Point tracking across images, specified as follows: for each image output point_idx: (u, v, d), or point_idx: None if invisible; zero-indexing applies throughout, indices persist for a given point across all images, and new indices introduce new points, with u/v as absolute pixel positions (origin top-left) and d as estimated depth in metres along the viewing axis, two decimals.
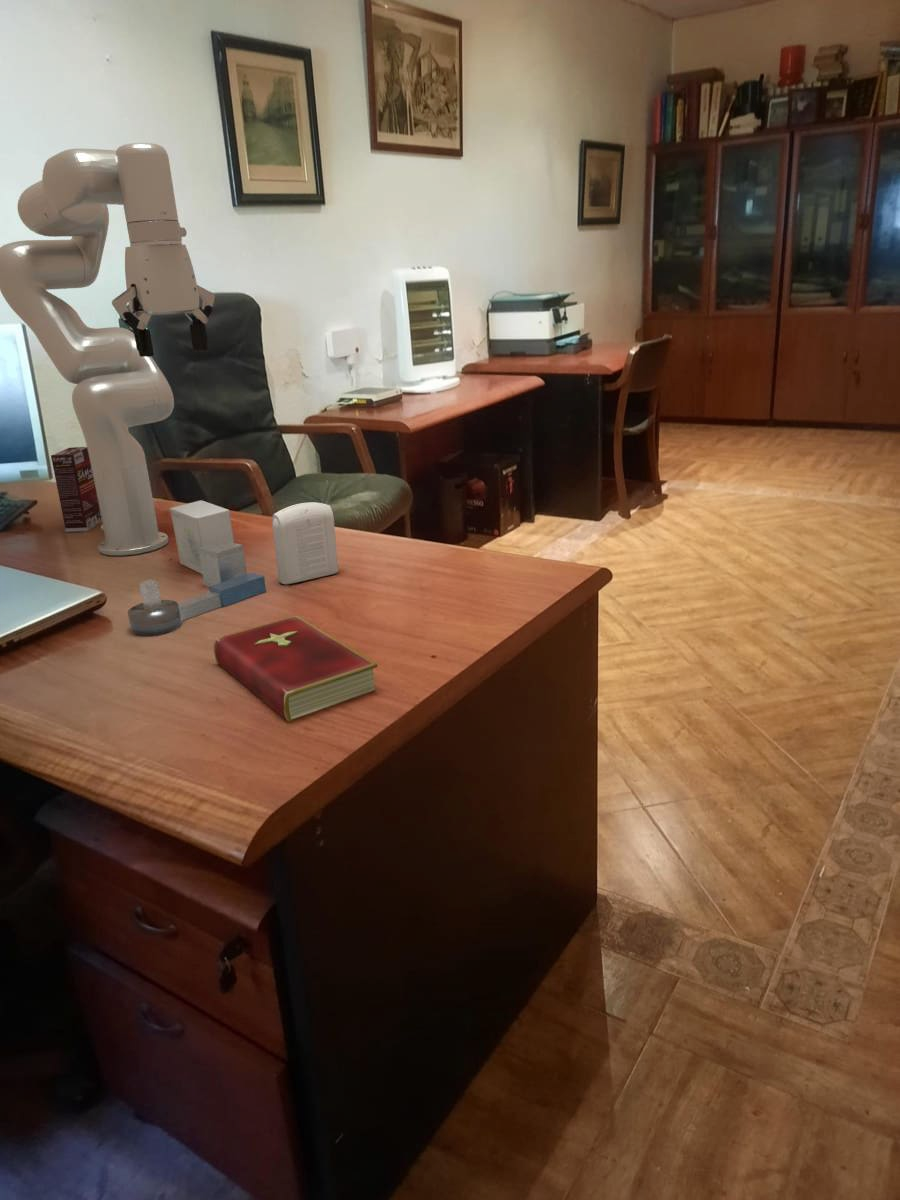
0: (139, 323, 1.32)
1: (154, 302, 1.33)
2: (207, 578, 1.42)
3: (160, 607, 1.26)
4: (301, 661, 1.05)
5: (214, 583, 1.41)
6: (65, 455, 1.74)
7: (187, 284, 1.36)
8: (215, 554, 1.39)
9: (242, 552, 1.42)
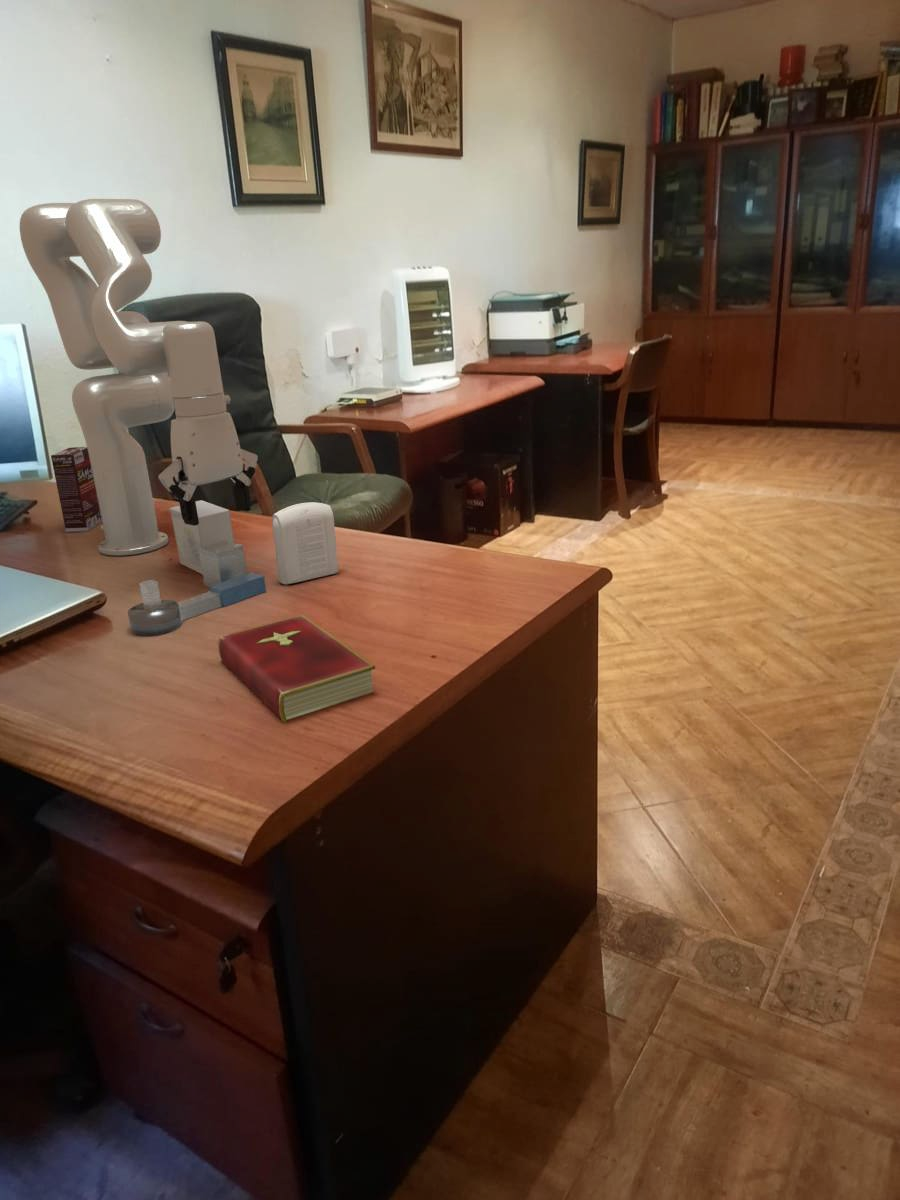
0: (185, 495, 1.33)
1: (200, 473, 1.33)
2: (207, 578, 1.42)
3: (160, 607, 1.26)
4: (301, 661, 1.05)
5: (214, 583, 1.41)
6: (65, 455, 1.74)
7: (231, 451, 1.36)
8: (215, 554, 1.39)
9: (242, 552, 1.42)
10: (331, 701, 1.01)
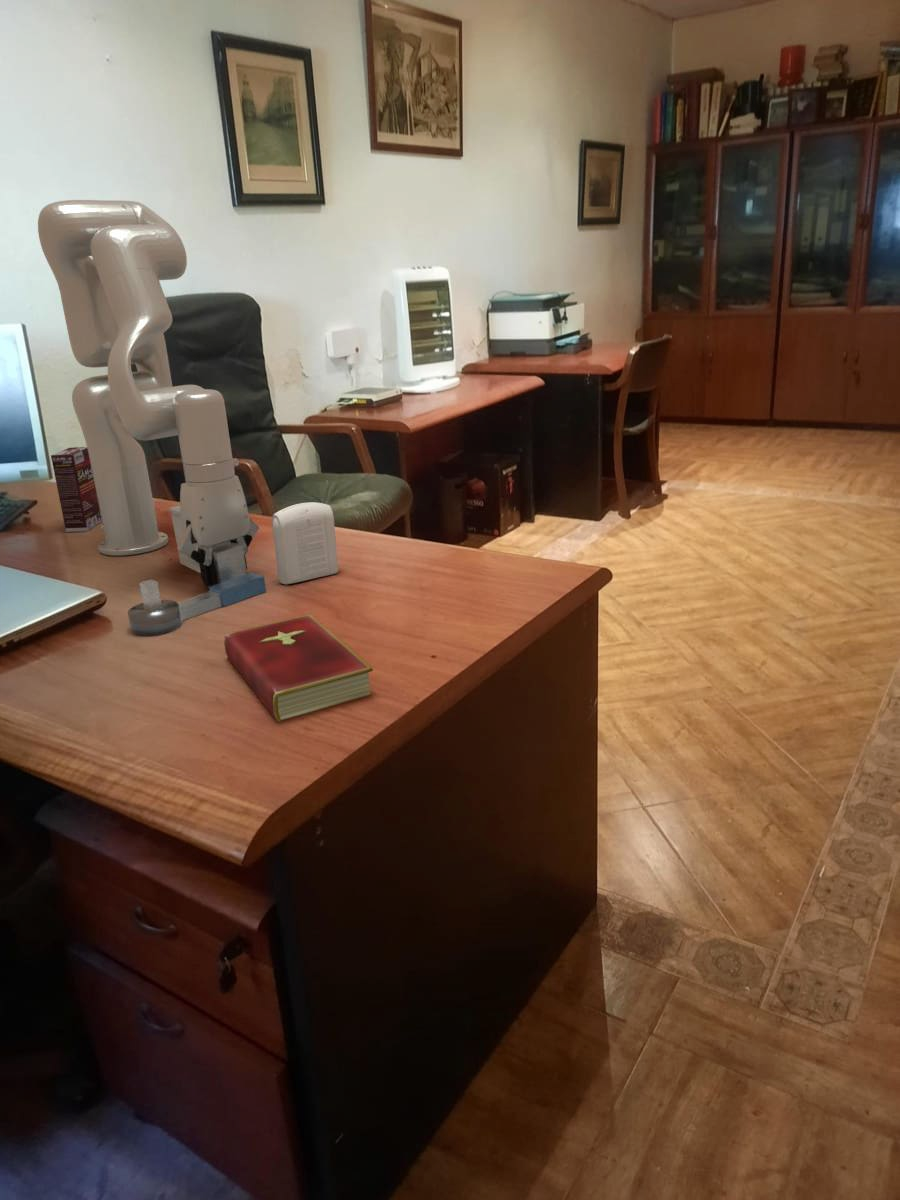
0: (205, 561, 1.38)
1: (208, 536, 1.37)
2: None
3: (160, 607, 1.26)
4: (300, 661, 1.05)
5: None
6: (65, 455, 1.74)
7: (239, 513, 1.40)
8: (215, 554, 1.38)
9: (242, 552, 1.42)
10: (327, 702, 1.01)
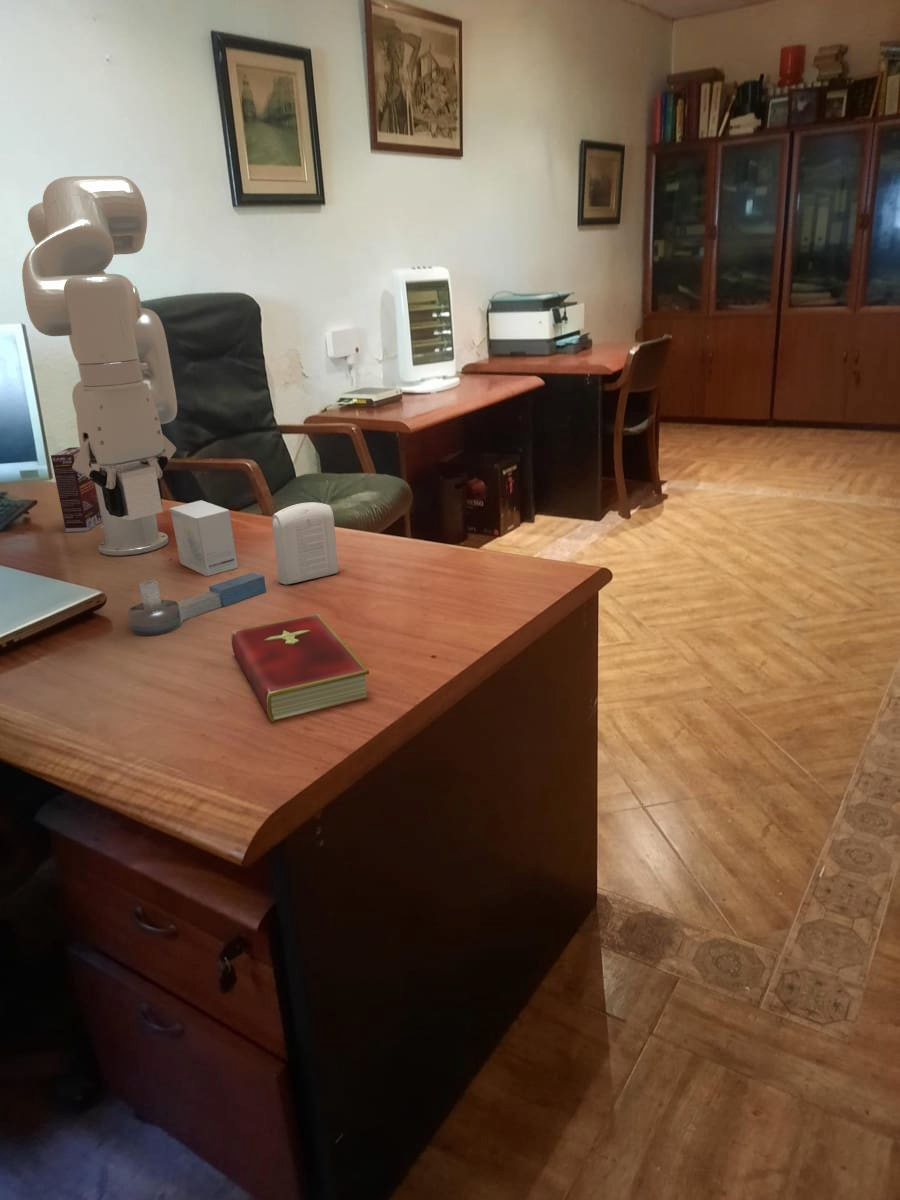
0: (107, 483, 1.16)
1: (110, 453, 1.15)
2: None
3: (160, 607, 1.26)
4: (299, 661, 1.05)
5: None
6: (65, 455, 1.74)
7: (149, 428, 1.18)
8: (120, 475, 1.16)
9: (154, 475, 1.20)
10: (322, 704, 1.01)
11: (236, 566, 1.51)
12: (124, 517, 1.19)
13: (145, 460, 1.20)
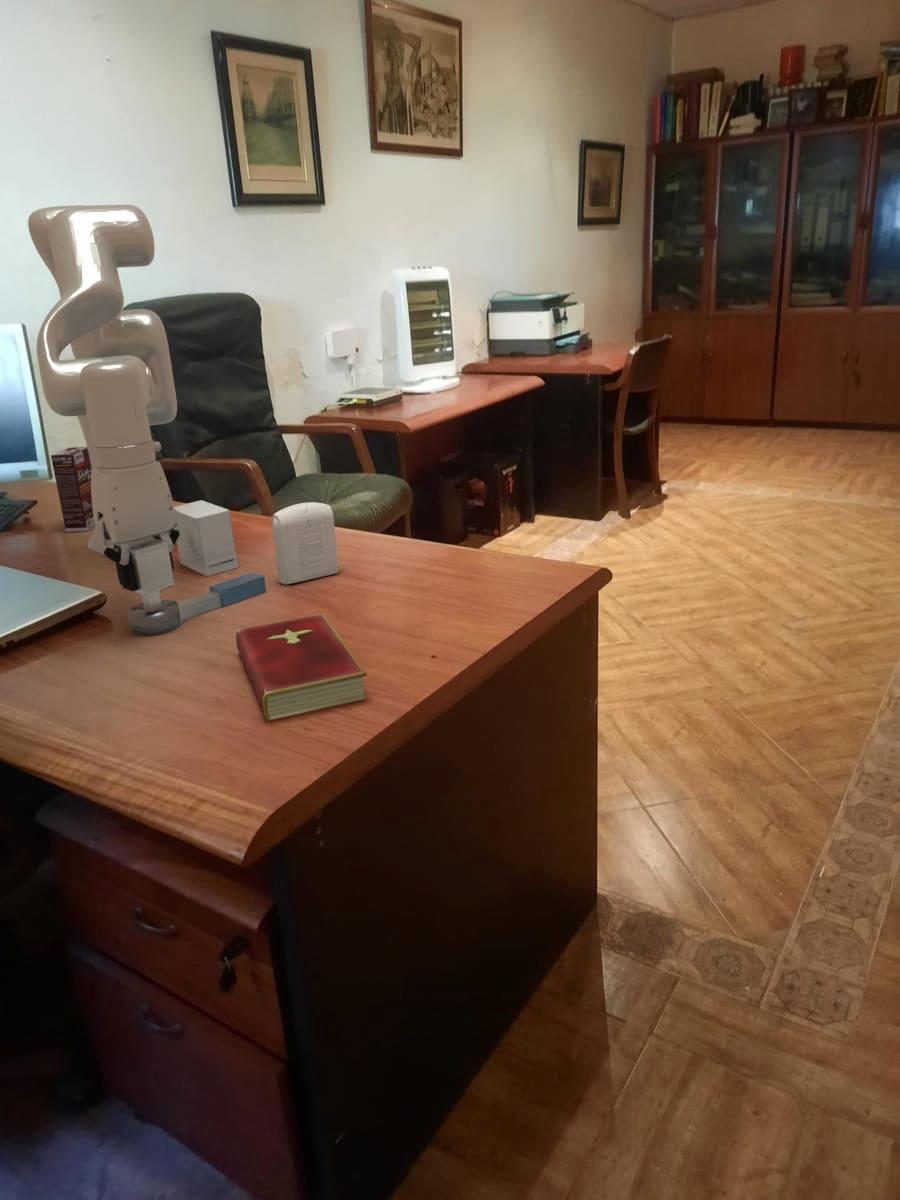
0: (121, 560, 1.20)
1: (124, 531, 1.18)
2: None
3: (160, 607, 1.26)
4: (299, 661, 1.05)
5: None
6: (65, 455, 1.74)
7: (161, 505, 1.22)
8: (133, 552, 1.20)
9: (166, 549, 1.23)
10: (319, 705, 1.01)
11: (236, 566, 1.51)
12: (137, 591, 1.23)
13: (157, 535, 1.24)
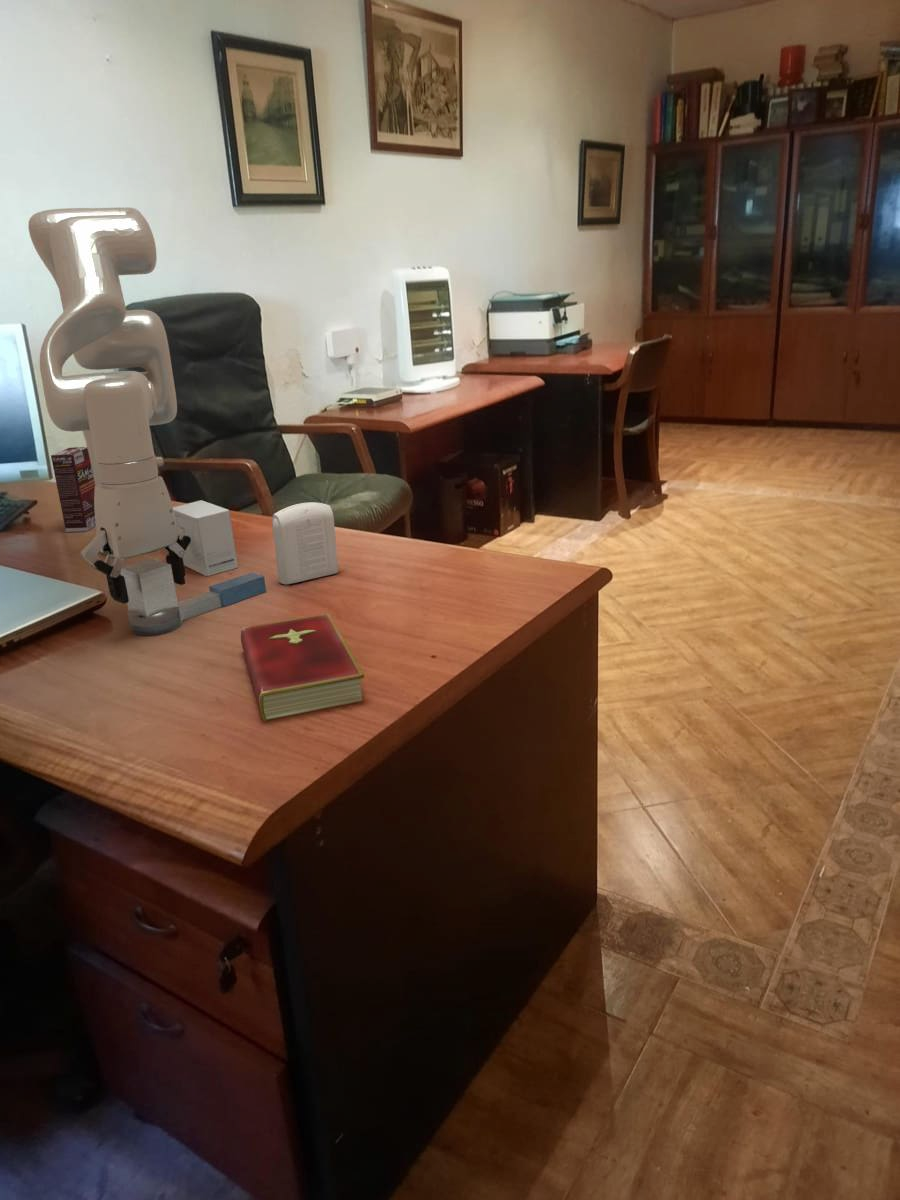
0: (112, 572, 1.19)
1: (126, 546, 1.19)
2: (131, 602, 1.25)
3: None
4: (298, 661, 1.05)
5: (138, 608, 1.24)
6: (65, 455, 1.74)
7: (164, 520, 1.23)
8: (137, 575, 1.21)
9: (170, 572, 1.25)
10: (316, 705, 1.00)
11: (236, 566, 1.51)
12: (141, 613, 1.24)
13: None
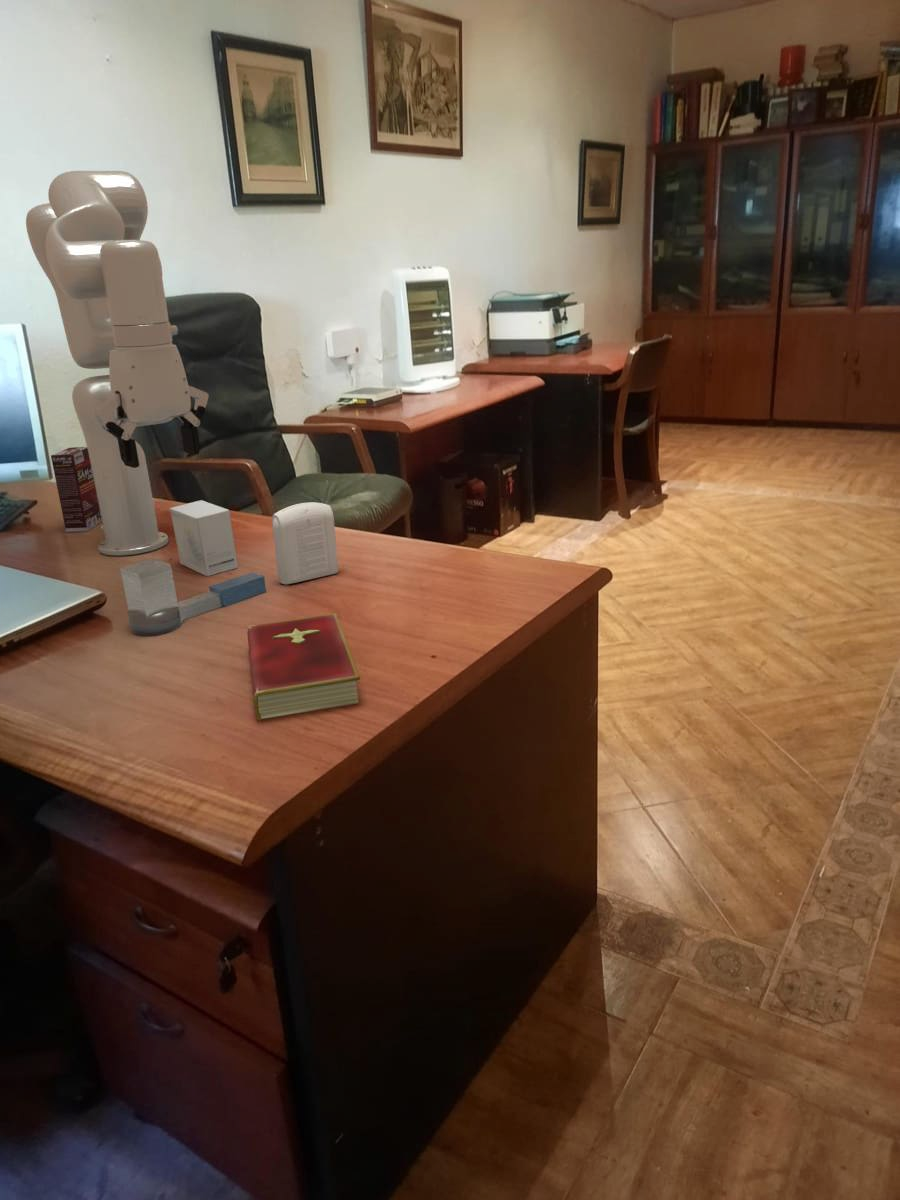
0: (123, 434, 1.21)
1: (140, 411, 1.21)
2: (131, 602, 1.25)
3: None
4: (298, 661, 1.05)
5: (138, 608, 1.24)
6: (65, 455, 1.74)
7: (177, 388, 1.25)
8: (137, 575, 1.21)
9: (170, 572, 1.25)
10: (311, 706, 1.00)
11: (236, 566, 1.51)
12: (141, 613, 1.24)
13: None
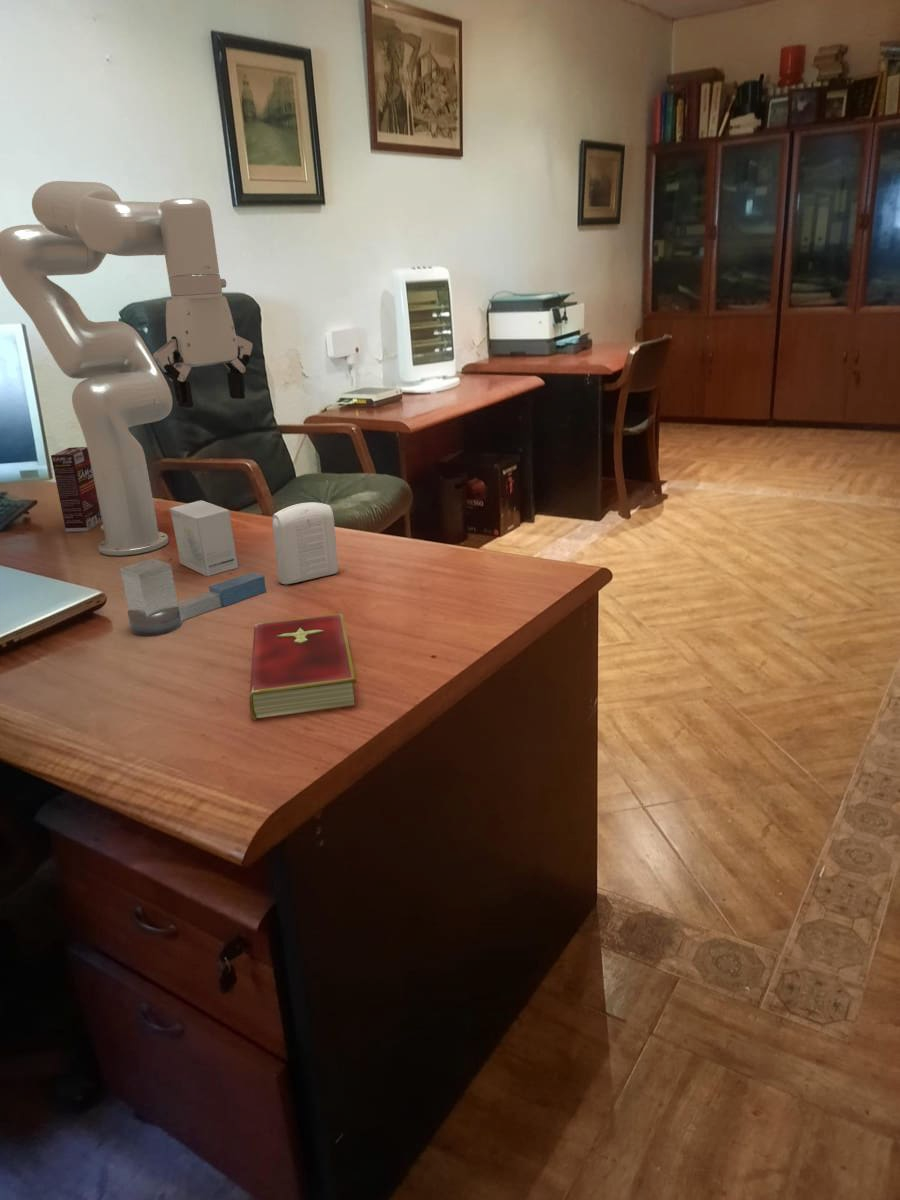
0: (179, 375, 1.33)
1: (194, 354, 1.33)
2: (131, 602, 1.25)
3: None
4: (297, 661, 1.05)
5: (138, 608, 1.24)
6: (65, 455, 1.74)
7: (226, 335, 1.37)
8: (137, 575, 1.21)
9: (170, 572, 1.25)
10: (307, 707, 1.00)
11: (236, 566, 1.51)
12: (141, 613, 1.24)
13: None
